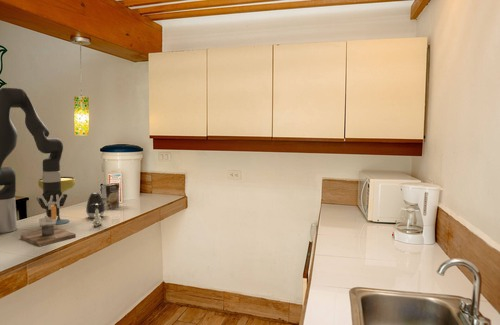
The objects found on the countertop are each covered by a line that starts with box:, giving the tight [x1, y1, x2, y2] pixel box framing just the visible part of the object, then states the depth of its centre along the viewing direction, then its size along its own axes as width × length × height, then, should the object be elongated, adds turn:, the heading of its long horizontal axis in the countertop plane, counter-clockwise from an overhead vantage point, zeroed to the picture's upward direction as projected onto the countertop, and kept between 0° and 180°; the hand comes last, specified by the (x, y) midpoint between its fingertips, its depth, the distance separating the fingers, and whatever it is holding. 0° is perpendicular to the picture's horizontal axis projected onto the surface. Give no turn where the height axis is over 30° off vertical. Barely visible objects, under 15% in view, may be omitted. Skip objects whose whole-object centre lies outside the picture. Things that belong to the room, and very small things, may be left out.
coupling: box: [38, 204, 58, 228], centre depth 169 cm, size 7×12×11 cm, turn 50°
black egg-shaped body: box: [85, 191, 106, 219], centre depth 211 cm, size 10×10×15 cm
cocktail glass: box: [37, 176, 76, 226], centre depth 198 cm, size 18×18×25 cm
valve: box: [90, 203, 103, 227], centre depth 194 cm, size 7×7×12 cm
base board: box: [19, 225, 77, 247], centre depth 172 cm, size 19×17×6 cm
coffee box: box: [101, 183, 120, 211], centre depth 233 cm, size 9×6×16 cm
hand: (53, 216), depth 166 cm, fingers closed on coupling, 2 cm apart
